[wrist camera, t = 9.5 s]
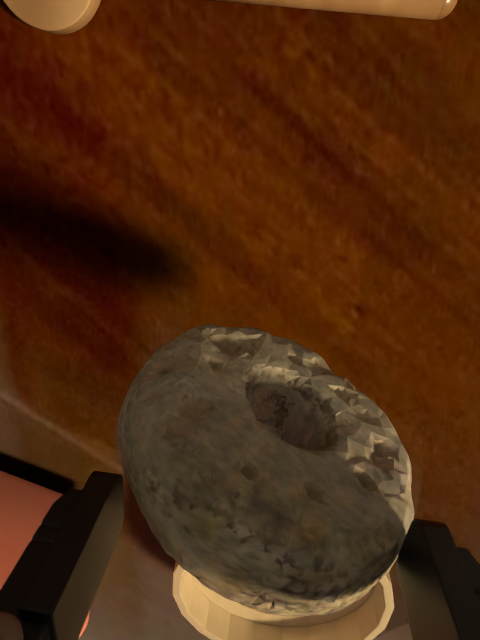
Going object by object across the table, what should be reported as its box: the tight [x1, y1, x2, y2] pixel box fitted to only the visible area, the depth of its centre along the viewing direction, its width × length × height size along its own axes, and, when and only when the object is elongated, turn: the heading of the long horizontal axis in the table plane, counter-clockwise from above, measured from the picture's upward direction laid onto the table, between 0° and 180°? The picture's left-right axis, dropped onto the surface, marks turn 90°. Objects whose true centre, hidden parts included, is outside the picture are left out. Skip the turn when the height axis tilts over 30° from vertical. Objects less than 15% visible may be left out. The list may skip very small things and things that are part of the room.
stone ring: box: [116, 324, 414, 617], centre depth 14 cm, size 10×4×10 cm, turn 62°
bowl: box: [172, 562, 394, 640], centre depth 31 cm, size 15×15×5 cm
